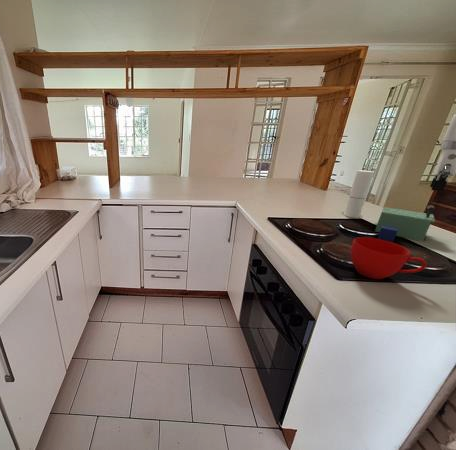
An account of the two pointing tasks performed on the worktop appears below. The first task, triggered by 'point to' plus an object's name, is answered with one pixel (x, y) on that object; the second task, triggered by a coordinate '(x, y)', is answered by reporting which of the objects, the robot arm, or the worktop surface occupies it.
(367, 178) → the cylindrical container
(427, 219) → the lid
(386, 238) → the blue cube
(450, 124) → the robot arm
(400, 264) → the ceramic cup
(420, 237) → the green rectangular box
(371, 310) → the worktop surface
